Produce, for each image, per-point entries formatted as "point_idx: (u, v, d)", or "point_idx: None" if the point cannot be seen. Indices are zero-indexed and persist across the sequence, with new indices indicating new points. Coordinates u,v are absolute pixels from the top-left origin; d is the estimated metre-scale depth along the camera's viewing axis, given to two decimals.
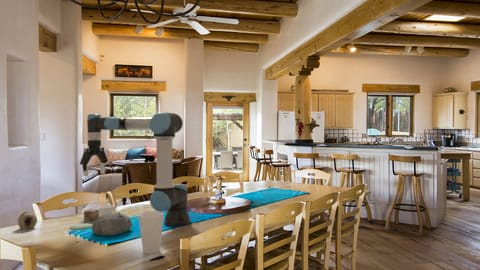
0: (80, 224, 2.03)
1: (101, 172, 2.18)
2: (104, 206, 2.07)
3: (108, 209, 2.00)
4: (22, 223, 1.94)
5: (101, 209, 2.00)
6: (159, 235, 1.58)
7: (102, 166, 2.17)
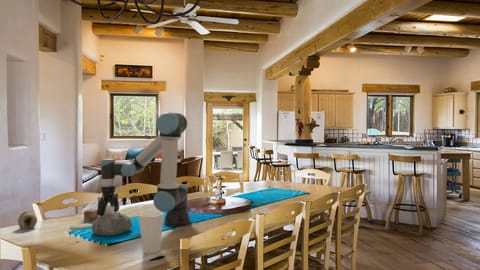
0: (80, 224, 2.03)
1: None
2: None
3: (108, 209, 2.00)
4: (22, 223, 1.94)
5: None
6: (159, 235, 1.58)
7: None
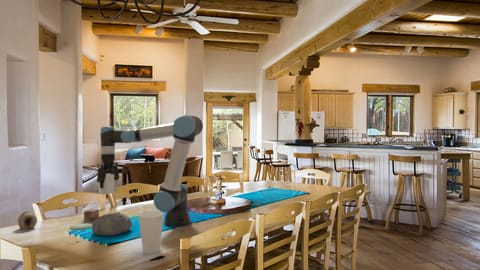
0: (80, 224, 2.03)
1: None
2: None
3: (107, 177, 1.99)
4: (22, 223, 1.94)
5: None
6: (159, 235, 1.58)
7: (114, 183, 2.06)
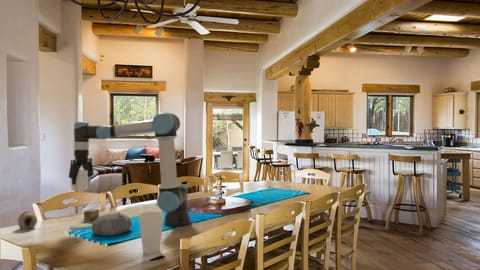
0: (80, 224, 2.03)
1: None
2: None
3: (80, 173, 1.96)
4: (22, 223, 1.94)
5: None
6: (159, 235, 1.58)
7: None
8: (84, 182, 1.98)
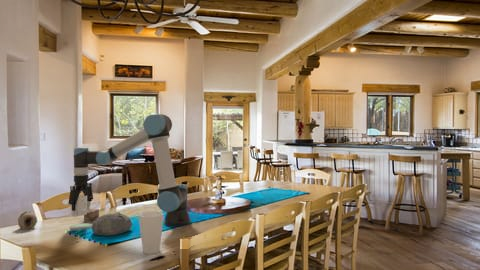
0: (80, 224, 2.03)
1: None
2: None
3: (80, 198, 1.96)
4: (22, 223, 1.94)
5: None
6: (159, 235, 1.58)
7: (87, 205, 2.03)
8: (84, 208, 1.98)
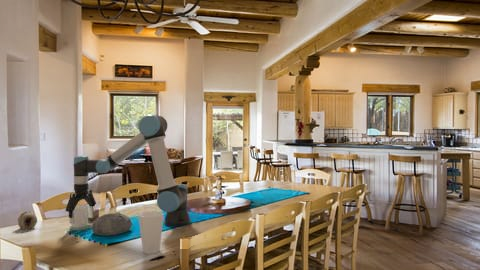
0: None
1: (89, 216, 2.06)
2: (77, 207, 2.03)
3: (80, 210, 1.96)
4: (22, 223, 1.94)
5: None
6: (159, 235, 1.58)
7: (90, 210, 2.05)
8: (84, 219, 1.98)
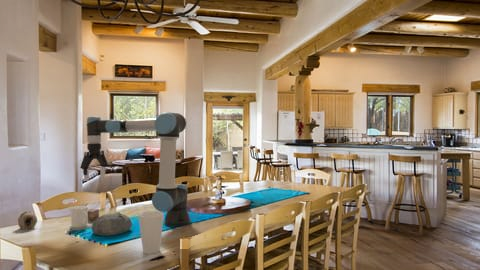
0: None
1: (101, 176, 2.13)
2: (77, 207, 2.03)
3: (80, 210, 1.96)
4: (22, 223, 1.94)
5: (73, 210, 1.96)
6: (159, 235, 1.58)
7: (102, 170, 2.13)
8: (84, 219, 1.98)
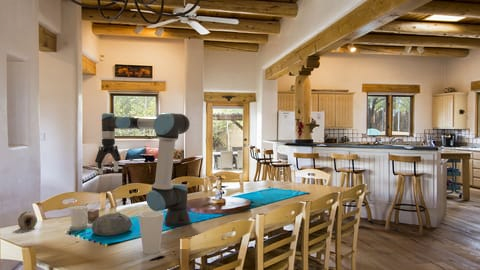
0: None
1: (115, 170, 2.23)
2: (77, 207, 2.03)
3: (80, 210, 1.96)
4: (22, 223, 1.94)
5: (73, 210, 1.96)
6: (159, 235, 1.58)
7: (115, 164, 2.23)
8: (84, 219, 1.98)
